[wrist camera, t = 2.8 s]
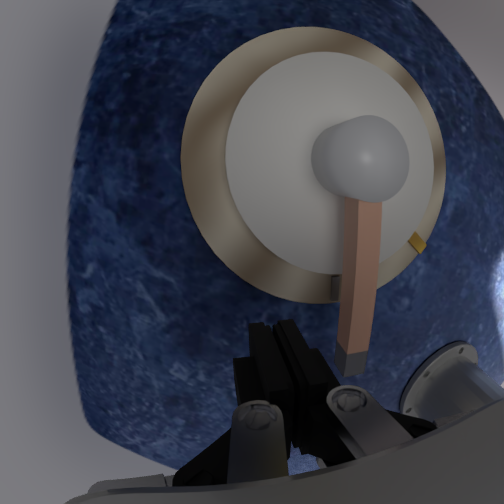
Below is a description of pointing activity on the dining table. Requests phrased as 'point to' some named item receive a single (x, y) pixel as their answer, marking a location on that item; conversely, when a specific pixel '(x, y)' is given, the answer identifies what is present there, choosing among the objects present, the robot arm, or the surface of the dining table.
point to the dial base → (214, 170)
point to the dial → (331, 176)
